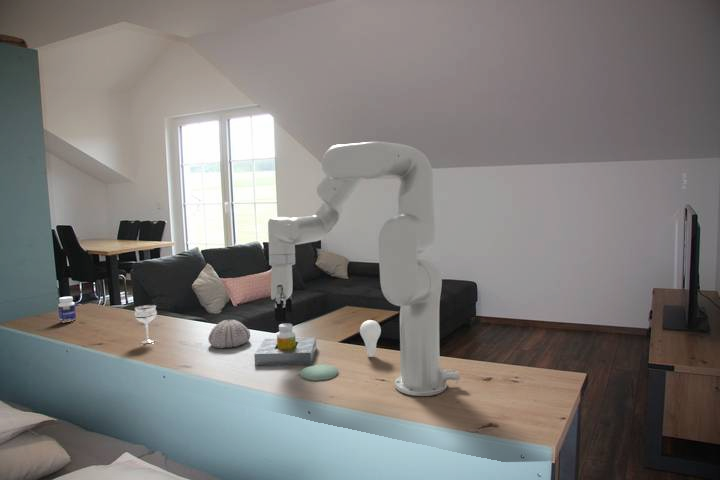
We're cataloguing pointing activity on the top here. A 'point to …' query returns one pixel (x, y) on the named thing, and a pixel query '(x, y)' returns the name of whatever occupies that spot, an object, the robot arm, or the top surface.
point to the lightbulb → (370, 335)
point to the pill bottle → (66, 309)
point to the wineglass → (146, 316)
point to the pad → (319, 372)
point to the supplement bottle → (286, 337)
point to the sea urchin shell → (229, 334)
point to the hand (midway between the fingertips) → (284, 316)
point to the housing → (285, 353)
